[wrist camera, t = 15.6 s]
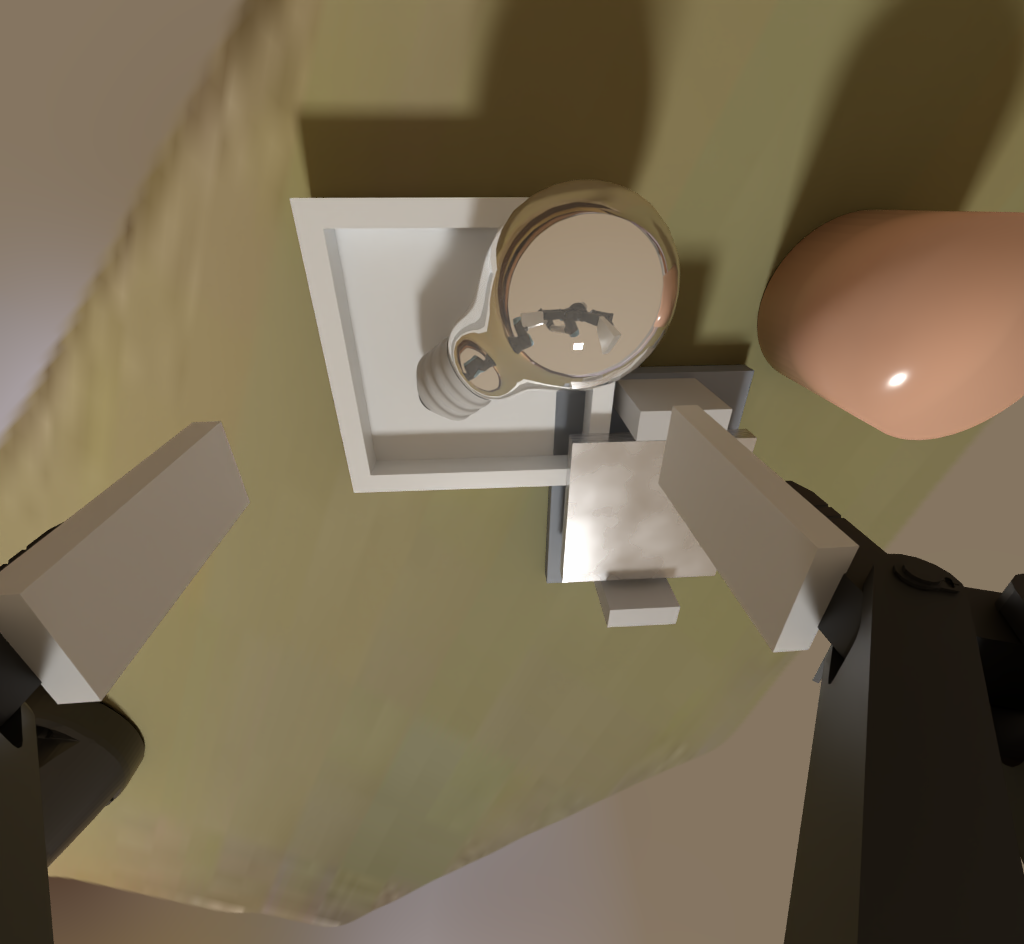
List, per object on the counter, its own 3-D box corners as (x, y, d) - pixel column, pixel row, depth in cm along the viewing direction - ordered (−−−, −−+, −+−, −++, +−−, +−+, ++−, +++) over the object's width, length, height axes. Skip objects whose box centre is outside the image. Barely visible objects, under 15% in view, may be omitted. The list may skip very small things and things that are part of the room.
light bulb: (381, 305, 21) (600, 88, 14) (485, 389, 25) (694, 251, 18) (342, 415, 17) (622, 185, 10) (474, 494, 21) (737, 365, 14)
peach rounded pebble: (739, 383, 24) (824, 442, 18) (785, 209, 20) (915, 213, 14) (883, 379, 25) (1013, 437, 19) (956, 208, 20) (1154, 212, 14)
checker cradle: (545, 572, 30) (555, 633, 26) (554, 368, 23) (570, 406, 19) (691, 566, 31) (724, 624, 27) (744, 364, 24) (802, 400, 19)
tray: (364, 468, 25) (354, 492, 23) (311, 198, 19) (289, 198, 17) (593, 460, 26) (603, 484, 24) (619, 197, 19) (636, 196, 17)
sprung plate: (559, 570, 27) (562, 582, 26) (569, 434, 22) (572, 443, 21) (707, 563, 27) (714, 575, 27) (746, 428, 23) (756, 437, 22)
